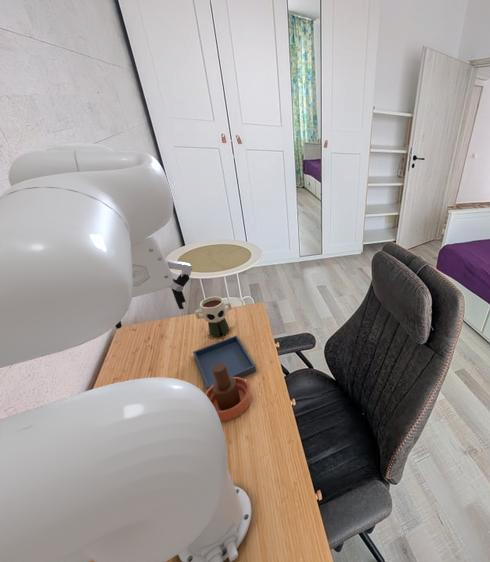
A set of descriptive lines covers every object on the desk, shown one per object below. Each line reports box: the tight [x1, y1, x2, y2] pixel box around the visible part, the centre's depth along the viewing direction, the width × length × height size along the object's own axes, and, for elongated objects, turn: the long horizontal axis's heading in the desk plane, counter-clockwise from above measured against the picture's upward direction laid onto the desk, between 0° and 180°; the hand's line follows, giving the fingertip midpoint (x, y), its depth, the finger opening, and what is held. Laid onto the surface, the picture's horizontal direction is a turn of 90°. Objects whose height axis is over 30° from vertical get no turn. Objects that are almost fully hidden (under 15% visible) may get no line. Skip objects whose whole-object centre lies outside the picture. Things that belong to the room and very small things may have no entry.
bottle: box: [212, 363, 240, 411], centre depth 73 cm, size 5×5×14 cm
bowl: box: [204, 377, 253, 422], centre depth 76 cm, size 11×11×4 cm
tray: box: [192, 335, 257, 391], centre depth 87 cm, size 17×13×3 cm
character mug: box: [194, 295, 233, 338], centre depth 97 cm, size 11×7×13 cm, turn 126°
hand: (151, 314), depth 54 cm, fingers open, 9 cm apart
